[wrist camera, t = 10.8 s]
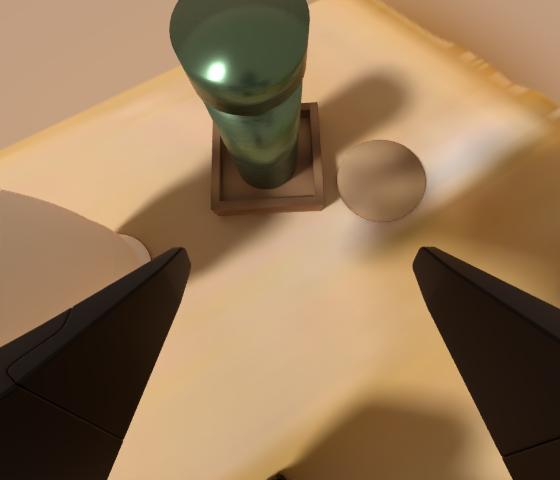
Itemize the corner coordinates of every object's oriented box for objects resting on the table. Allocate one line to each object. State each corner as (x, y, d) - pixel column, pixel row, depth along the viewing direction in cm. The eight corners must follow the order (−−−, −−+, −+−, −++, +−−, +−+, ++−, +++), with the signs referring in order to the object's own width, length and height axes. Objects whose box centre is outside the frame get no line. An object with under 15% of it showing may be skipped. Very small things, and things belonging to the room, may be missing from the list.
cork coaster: (440, 179, 22) (443, 177, 22) (383, 239, 22) (385, 238, 21) (375, 127, 24) (376, 124, 23) (319, 182, 23) (320, 180, 22)
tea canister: (308, 145, 22) (332, -12, 10) (282, 200, 21) (271, 103, 9) (252, 123, 23) (210, -49, 11) (224, 176, 22) (144, 54, 10)
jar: (136, 207, 24) (-126, 96, 9) (180, 286, 22) (-50, 313, 7) (53, 260, 23) (-374, 238, 8) (92, 345, 21) (-354, 506, 7)
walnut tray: (321, 210, 22) (324, 203, 20) (218, 215, 23) (211, 209, 21) (315, 117, 24) (317, 102, 22) (219, 123, 25) (213, 109, 22)
